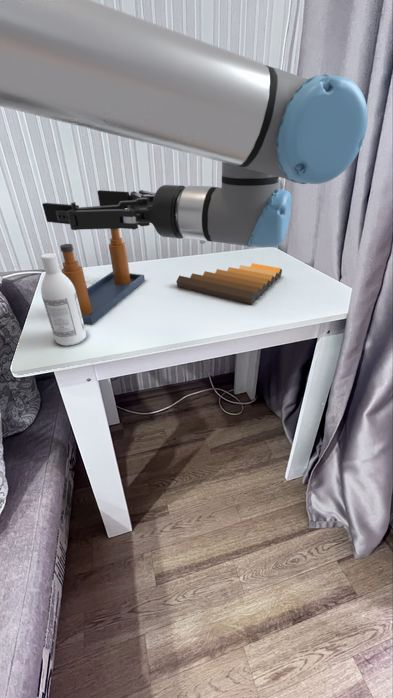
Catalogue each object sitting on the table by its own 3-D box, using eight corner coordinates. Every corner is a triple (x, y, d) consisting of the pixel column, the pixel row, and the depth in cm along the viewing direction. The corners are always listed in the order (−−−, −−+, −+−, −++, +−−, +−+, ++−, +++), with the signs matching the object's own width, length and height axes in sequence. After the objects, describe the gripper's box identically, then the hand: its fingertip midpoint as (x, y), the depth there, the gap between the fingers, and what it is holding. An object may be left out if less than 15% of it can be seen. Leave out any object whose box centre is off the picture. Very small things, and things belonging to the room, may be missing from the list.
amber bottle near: (75, 318, 83) (57, 249, 73) (70, 311, 87) (52, 244, 77) (94, 313, 85) (79, 246, 75) (88, 306, 89) (74, 241, 79)
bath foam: (71, 328, 80) (49, 248, 69) (92, 335, 78) (73, 252, 66) (49, 342, 75) (22, 257, 64) (71, 349, 73) (46, 262, 61)
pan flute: (176, 287, 100) (250, 305, 89) (176, 277, 98) (251, 294, 87) (215, 263, 118) (281, 276, 107) (215, 254, 116) (282, 266, 105)
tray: (92, 324, 82) (90, 317, 81) (54, 318, 85) (52, 311, 84) (144, 280, 105) (144, 274, 104) (113, 277, 108) (112, 271, 107)
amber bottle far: (118, 286, 101) (108, 226, 91) (112, 281, 104) (102, 223, 94) (132, 282, 103) (125, 224, 93) (127, 277, 106) (119, 221, 96)
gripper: (145, 263, 42) (25, 246, 49) (214, 221, 61) (119, 213, 68) (138, 200, 38) (8, 191, 45) (214, 176, 56) (114, 172, 64)
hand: (75, 204), depth 56 cm, fingers open, 13 cm apart
